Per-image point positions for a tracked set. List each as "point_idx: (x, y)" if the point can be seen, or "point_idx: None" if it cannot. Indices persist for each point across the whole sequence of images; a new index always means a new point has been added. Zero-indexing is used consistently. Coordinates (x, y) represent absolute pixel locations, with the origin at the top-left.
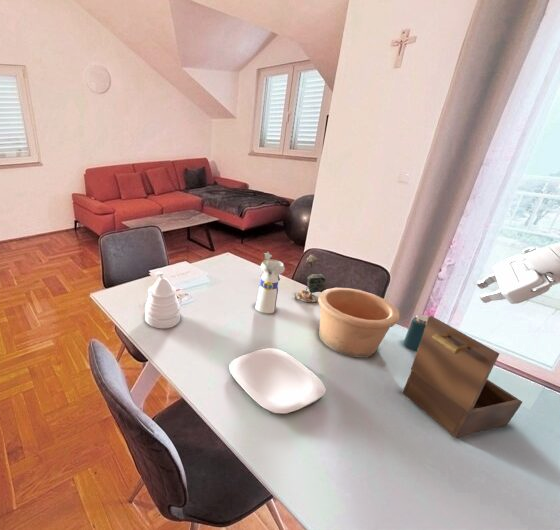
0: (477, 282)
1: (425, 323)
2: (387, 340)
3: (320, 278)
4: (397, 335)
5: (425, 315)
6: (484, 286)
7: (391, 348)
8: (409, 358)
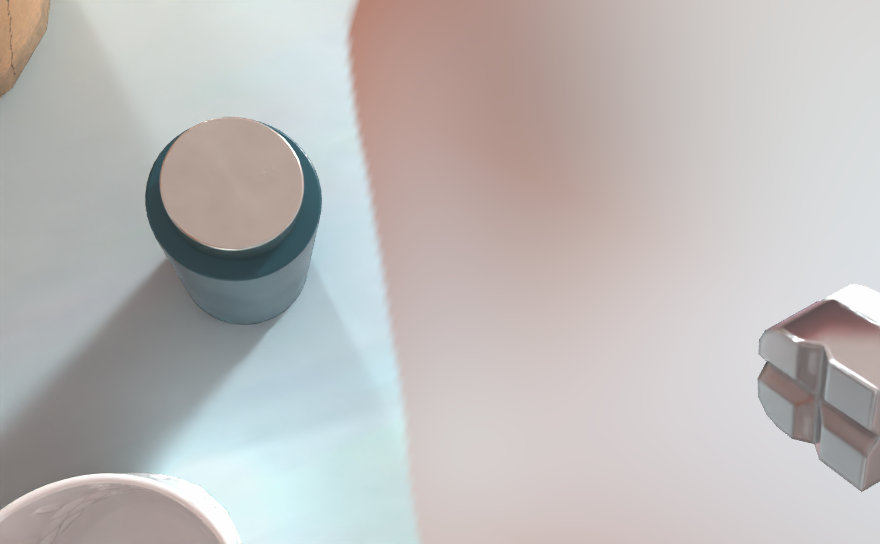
0: (840, 297)
1: (177, 228)
2: (151, 134)
3: None
4: None
5: (296, 164)
6: (819, 437)
7: (66, 199)
8: (56, 326)
